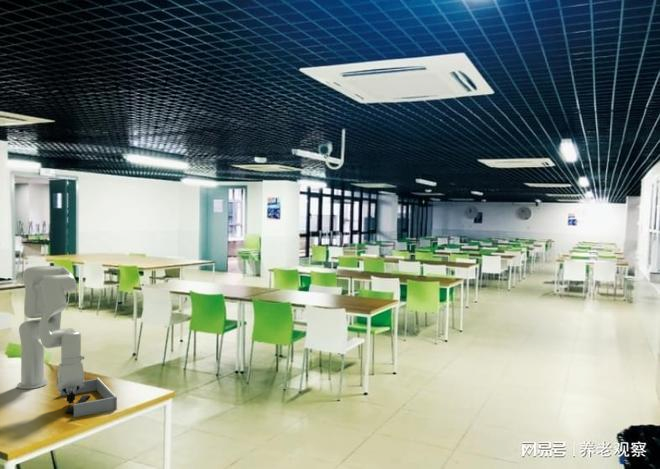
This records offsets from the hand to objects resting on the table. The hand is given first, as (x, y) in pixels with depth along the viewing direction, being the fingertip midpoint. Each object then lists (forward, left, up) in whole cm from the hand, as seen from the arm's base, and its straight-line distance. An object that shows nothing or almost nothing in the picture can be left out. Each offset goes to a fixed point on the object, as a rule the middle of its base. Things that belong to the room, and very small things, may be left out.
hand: (70, 402), depth 218 cm
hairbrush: (+2, +3, -2) cm, 5 cm away
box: (0, +7, -1) cm, 7 cm away
